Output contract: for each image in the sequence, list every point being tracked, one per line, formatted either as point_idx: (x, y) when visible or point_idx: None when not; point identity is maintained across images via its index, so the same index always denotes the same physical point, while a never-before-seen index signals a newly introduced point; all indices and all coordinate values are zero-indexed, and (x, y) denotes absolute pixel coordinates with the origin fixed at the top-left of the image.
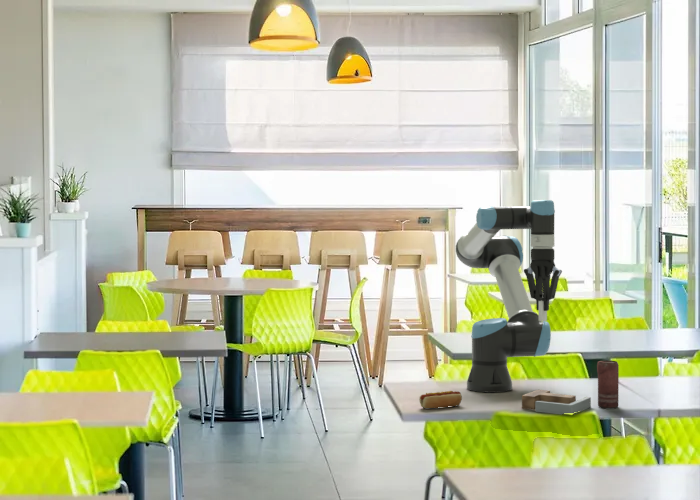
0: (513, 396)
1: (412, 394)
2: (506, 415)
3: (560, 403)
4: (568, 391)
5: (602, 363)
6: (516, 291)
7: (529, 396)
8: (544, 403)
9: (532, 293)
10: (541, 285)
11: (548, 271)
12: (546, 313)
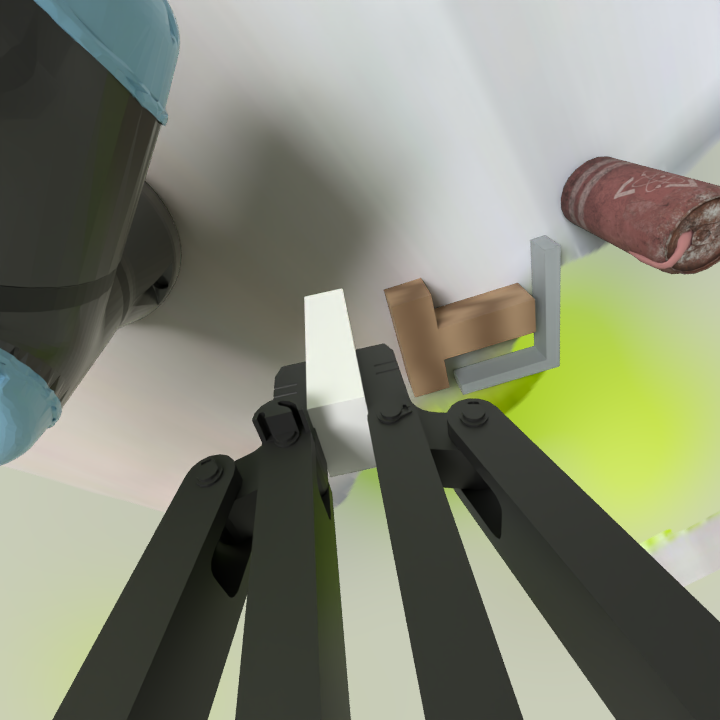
0: (267, 280)
1: (83, 454)
2: None
3: (525, 369)
4: (318, 16)
5: (684, 273)
6: None
7: (436, 390)
8: (486, 386)
9: (243, 569)
10: (328, 638)
11: None
12: (349, 322)
